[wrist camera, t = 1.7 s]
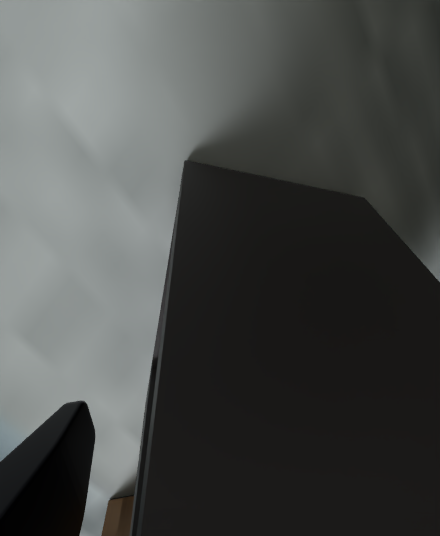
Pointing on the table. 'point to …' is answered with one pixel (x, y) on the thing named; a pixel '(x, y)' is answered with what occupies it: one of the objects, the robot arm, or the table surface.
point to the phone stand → (290, 369)
